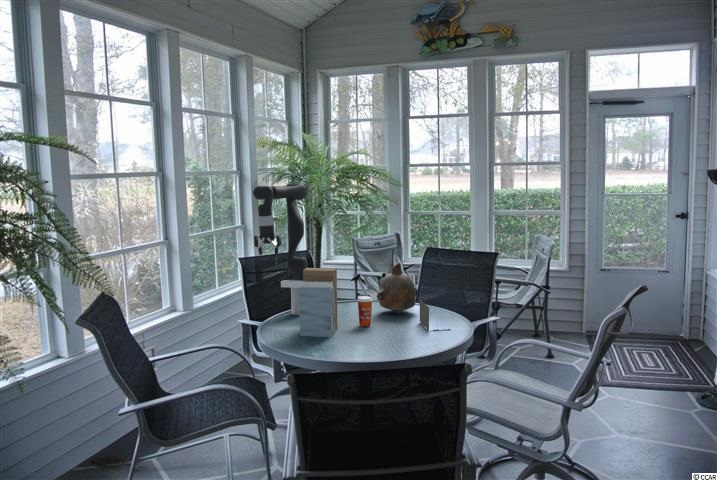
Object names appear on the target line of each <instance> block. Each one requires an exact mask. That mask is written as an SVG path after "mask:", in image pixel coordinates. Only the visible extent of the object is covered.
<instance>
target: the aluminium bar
mask: <svg viewBox="0 0 717 480" xmlns="http://www.w3.org/2000/svg"><path fill="white" fill-rule="evenodd" d="M280 288H289V289H291V288H327V289H332V288H333V281H296V280H292V279H291V280H290V279H286V280H285V279H283V280H281V281H280Z"/></svg>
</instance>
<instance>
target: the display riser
mask: <svg viewBox="0 0 717 480" xmlns="http://www.w3.org/2000/svg"><path fill="white" fill-rule="evenodd" d="M303 281H333V288H332V289H327V288H299V310H300V315H299V336H301V337H315V338H316V337H317V338H318V337H321V338H332V337H333V336H334V334H335V333H336V332H337V331H338V328H339V327H338V269H337V268H330V267H329V268H328V267H327V268H325V267H321V268H320V267H308V268H306V269H304V270H303Z"/></svg>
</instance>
